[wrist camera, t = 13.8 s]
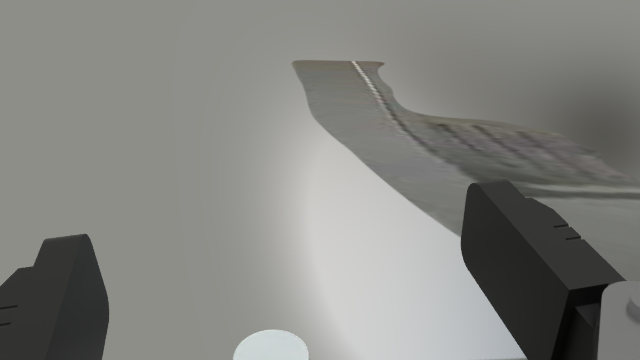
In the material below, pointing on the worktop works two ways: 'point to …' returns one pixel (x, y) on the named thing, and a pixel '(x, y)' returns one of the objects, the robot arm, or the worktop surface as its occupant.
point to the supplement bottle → (272, 347)
